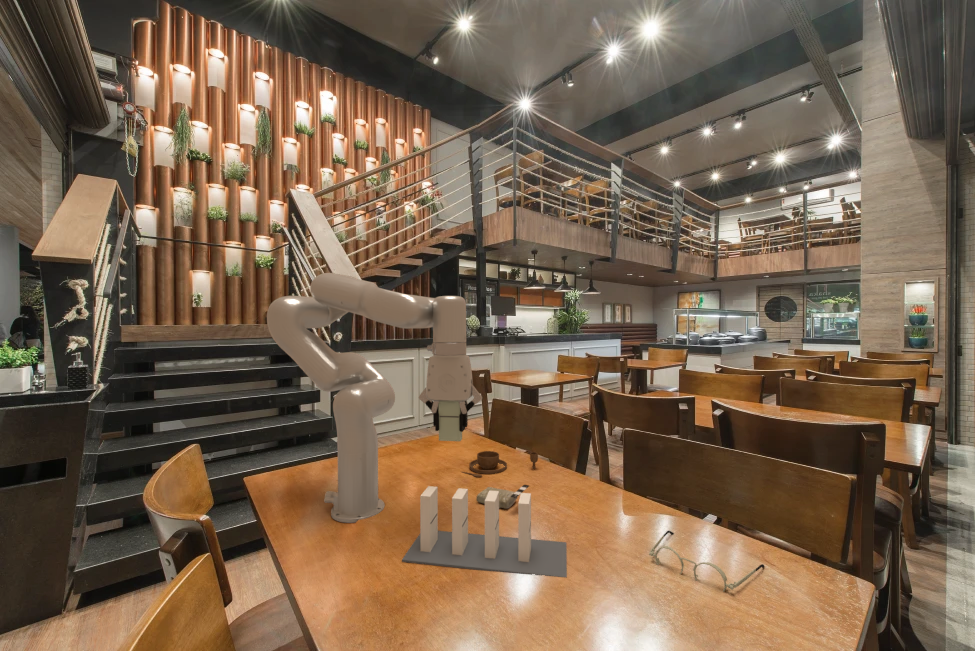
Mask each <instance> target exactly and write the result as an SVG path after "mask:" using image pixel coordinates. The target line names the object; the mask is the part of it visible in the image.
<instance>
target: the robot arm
mask: <svg viewBox="0 0 975 651" xmlns="http://www.w3.org/2000/svg"><path fill="white" fill-rule="evenodd" d="M309 288H310V289H309V290H310V293H311V296H303V295H286V296H281V297H278V298H276V299H275V300H273V301H272V302H271V303H270V305H269V307H268V310H267V313H266V324H267V329H268V331H269V335H270V336H271V338H272V339H273V340H274V342H275V343H276V345H278V347H279V348H280V349H281V350H282V351H283V352H285V354H287V355H288V356H289V357H290V358H291V359H292V360H293V361H294V362H295V363H296V364H297V366H298V367H299V369H300V370H302V371H303V373H304V374H305V375H306V376H307V377H308V378H309V380H311V381H312V382H313V383H314V384H315V385H316V387H317V388H319V390H321V391H323V392H327V393H329V392H336V391H338V392H337V393H336V395H335V396H334V399H333V402H332V411H333V412H332V413H333V416H334V421H335V426H336V435H337V436H336V438H337V439H336V440H337V445H336V446H337V492H336V491H330V490H329V491H328V490H327V491H326V492H325V494H324V499H323V501H324V503H325V504H326V503H327V504H332V505H333V507H331V509H330V510H331V511H330V516H331V519H333V520H335V521H337V522H338V523H339V522H340V523H346V524H347V523H348V524H354V523H357V522H358V521H361V520H366V519H368V518H369V519H370V518H372V517H374V516H376V515H378V514H379V513H381V512H383V510H384V508H385V506H386V505H385V502H384V500H382V499H381V498H379V441H378V433H377V428H376V426H375V424H374V420H373V419H374V418H376V417H380V416H381V415H384V414H386V413H387V412H389V411H390V410H391V409H392V408H393V407H394V405H395V400H396V394H395V390H394V388H393V387H392V385H391V383H390V382H389V381H388V380H387V379H386V378H385V377H384V376H383V374H381V372H379V371H378V369H377V368H375V366H373V364H372V363H371V362H370V361H369V360H368V359H367V358H365V357H364V356H363V355H361V354H359V353H356V352H352V351H351V352H349V351H347V352H336V351H335V350H333V349H332V348H331V347H330V346H329V345H328V344H327V343H326V342H325V341H324V340H323V338H321V337H320V336H319V335H317V334H316V333H314V332H312V331H310V330H309V329H322V328H325V327H327V326H330V325H331V324H333V323H334V322H335V321H337V320H339V319H340V318H342V317H343V316H345V315H347V314H348V313H351V314H355V315H358V316H362V317H364V318H367V319H369V320H372V321H374V322H377V323H380V324H385V325H387V326H388V325H389V326H392V327H396V328H400V329H405V330H406V329H430V328H433V329H432V338H433V339H432V343H431V344H428V345H427V347H426V350H427V352H432V355H431V356H429V358H428V364H427V365H428V366H427V371H426V372H427V373H426V384H425V388H424V389H423V390H422V392H421V393H420V394H419V396H418V399H419V400H420V401H421V402H422V403H423V404H425V405H426V407H427V408H429V410H430V411H431V413H432V415H433V416H432V419H433V421H432V423H433V424H432V425H433V427H435V432H439V401H459V404H460V408H461V414H460V415H459V431H460V432H462V433H463V432H464V431H465V430H466V428H467V427H468V419H469V418H468V413H469V411H470V410H471V409H472V408H473V407H474V406H475V405H477V404H478V403H479V402H480V401H482V399H483V396H482V394H481V393H480V392H479V391H478V390H477V388H476V387H475V386H474V382H473V381H474V380H473V372H472V364H471V360H470V356H469V355H467V312H466V311H467V305H466V304H467V302H466V300H465V298H464V297H462V296H461V295H460V296H458V295H442V296H441V295H440V296H436V297H429V296H421V295H416V294H406V293H402V292H398V291H394V290H389V289H384V288H381V287H378V285H377V284H376V283H375V282H372V281H367V280H364V279H359V278H356V277H354V276H351V275H346V274H342V273H341V274H340V273H336V272H335V273H334V272H325V273H324V272H323V273H321V274H318V275H317V276H316V277H314V279H313V280H312V281H311V283H310V287H309ZM472 396H473V398H472V399H471V400H470V401H469V402H468V400H469V399H470V398H471V397H472Z"/></svg>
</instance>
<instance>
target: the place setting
mask: <svg viewBox="0 0 975 651" xmlns="http://www.w3.org/2000/svg"><path fill="white" fill-rule="evenodd" d="M538 460H539V453H538V452H535V451H532V452H529V461H530V462H531V463H532V470H533V469H535V470H536V469H537V468H536V467H537V466H536V463H537V462H538ZM498 463H499V464H498ZM476 464H478V465H476ZM501 464H503V465H504V466H505V467H504V466H503V465H502V466H503V467H501V468H498V469H497V468H496V467H497V466H498V465H501ZM474 465H475V466H479V467H481V469H477V468H475V466H474ZM468 466H469V469H470V470H471V471H472V472H473V473H471V472H467V471H461V473H462V474H468V475H472V476H473V477H475V478H481V477H483V475H494V474H495V473H496V474H499V472H500V473H502V472H504V471H506V470H507V467H508V462H506V461H505V460H502V459H500V453H499V452H496V451H494V450H493V451H492V450H484V451H480V452H478V453H477V454H476V459H474V460H471V461H470V462H469V464H468ZM473 466H474V467H473ZM495 468H496V469H495ZM479 473H480V474H479Z"/></svg>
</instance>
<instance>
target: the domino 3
mask: <svg viewBox="0 0 975 651" xmlns="http://www.w3.org/2000/svg"><path fill="white" fill-rule="evenodd" d="M484 535H485V558H493V559H495V557H496V554H497V551H498V547H499V536H500V508H499V491H489V492H488V494H487V497H486V499H485V504H484Z"/></svg>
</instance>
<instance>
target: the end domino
mask: <svg viewBox="0 0 975 651" xmlns="http://www.w3.org/2000/svg"><path fill="white" fill-rule="evenodd" d="M460 414H461V408H460V404H459V401H439V430H438V441H439V442H440V441H441V442H462V440H463V432H460V431H459V415H460Z"/></svg>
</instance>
